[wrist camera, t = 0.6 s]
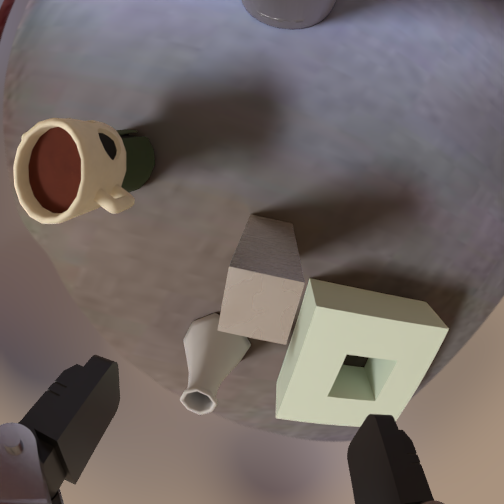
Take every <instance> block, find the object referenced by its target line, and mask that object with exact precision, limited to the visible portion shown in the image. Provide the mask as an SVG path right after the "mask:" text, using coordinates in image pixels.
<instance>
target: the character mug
mask: <svg viewBox="0 0 504 504" xmlns="http://www.w3.org/2000/svg"><path fill="white" fill-rule="evenodd" d="M134 132H138V131H136V130H117V131H116V130H115V129H114V128H113V127H111V126H109V125H107V124H105V123H101V122H98V121H94V120H91V121H82V120H77V119H71V118H66V119H62V118H51V119H47V120H44V121H41V122H38V123H37V124H36V125H35V126H34V127H32V128H31V129H30V130H29V131H28V132H26V133H24V134H23V135H22V141H21V143H20V145H19V146H18V148H17V153H16V157H15V162H14V166H13V167H14V186H15V189H16V192H17V195H18V198H19V201H20V204H21V205H22V206H23V208H24V209H25V211H26V212H27V213H28V215H29V216H30V217H32V218H33V219H35V220H37V221H39V222H40V223H42V224H58V223H62V222H65V221H67V220H69V219H72V218H74V217H77V216H79V215H82V214H85V213H87V212H90V211H92V210H95V209H97V208H99V207H101V206H102V207H103V208H104V209H106V210H107V211H108V212H110V213H112V214H117V213H120V212H122V211H124V210H127V209H129V208H130V207H132V206H133V205H134V202H135V198H134V197H133V196H132V195H131V194H130V193H129V192H131V191H134V190H136V189H139V188H140V187H141V186H142V185H143V184H144V183H145V182H146V181H147V180H148V179H149V177H150V175H151V172H152V170H153V167H154V165H155V160H154V149H153V147H152V145H151V143H150V141H149V139H148V138H147V137H145V136H144V137H136V136H133V135H129V134H127V133H134Z"/></svg>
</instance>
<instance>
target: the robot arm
mask: <svg viewBox="0 0 504 504" xmlns="http://www.w3.org/2000/svg"><path fill="white" fill-rule="evenodd" d="M335 1H336V0H242V3H243V5H244V7H245V8H246V10H247V11H248V12H249V13H250V14H251V15H252V16H253V17H254V18H256V19H257V20H259V21H260V22H263V23H265V24H267V25H269V26H273V27H277V28H284V29H300V28H305V27H309V26H312V25H314V24H316V23H319V22H320V21H321V20H323V19H324V18H326V16H327V15H328V14H329V13H330V12H331V10H332V8H333V6H334V3H335ZM119 401H120V390H119V372H118V364H117V362H114V361H111V360H109V359H106V358H103V357H100V356H97V355H94V356H93V357H91V359H90V360H89V361H88V362H87V363H86V364H85V366H84V367H83V366H80V365H78V364H76V365H74V366H72V367H70V368H69V369H67V370H64V371H63V372H62V373H61V375H60V376H59V377H58V378H57V379H56V380H55V383H53V384H52V385H51V386H50V387H49V388H48V391H46V392H45V393H44V394H43V395H42V396H41V397H40V399H39V400H38V401H37V402H36V403H35V405H34V406H33V407H32V408H31V409H30V410H29V412H28V413H27V414H26V415H25V417H24V418H23V419H22V420H21V421H20V422H19V423H5V424H2V425H0V504H64V503H63V499H62V495H61V492H60V489H59V488H60V486H61V484H62V482H63V481H64V479H65V480H67V481H69V482H71V483H73V484H76V482H77V481H78V479H79V477H80V475H81V473H82V471H83V470H84V468H85V466H86V464H87V463H88V460H89V459H90V457H91V455H92V454H93V452H94V450H95V448H96V446H97V445H98V443H99V441H100V439H101V438H102V436H103V434H104V432H105V431H106V429H107V427H108V425H109V424H110V422H111V420H112V418H113V417H114V415H115V413H116V411H117V409H118V405H119ZM347 459H348V465H349V471H350V476H351V481H352V488H353V493H354V499H355V504H444V503H442V502H439V501H434V499H433V497H432V494H431V491H430V488H429V485H428V482H427V480H426V477H425V474H424V471H423V468H422V466H421V464H420V460H419V458H418V455H416V450H415V447H414V445H413V442H412V440H411V439H410V438H409V437H408V436H407V434H406V433H405V432H404V431H403V430H398V427H397V425H396V422H395V419H394V417H393V416H392V415H382V414H369V415H368V416H367V417H366V419H365V420H364V422H363V424H362V425H361V427H360V428H359V430H358V432H357V433H356V435H355V436H354V438H353V440H352V441H351V443H350V445H349V448H348V453H347Z"/></svg>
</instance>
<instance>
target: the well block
mask: <svg viewBox="0 0 504 504" xmlns="http://www.w3.org/2000/svg"><path fill="white" fill-rule="evenodd" d="M448 330H449V328H448V327H447V326H446V325H445V323H444V322H443V321H442V320H441V319H440V317H439V316H438V315H437V314H436V313H435V312H434V310H433V309H432V308H431V307H430V306H429V305H428V303H427V302H424V301H419V300H414V299H409V298H404V297H399V296H394V295H389V294H384V293H379V292H374V291H369V290H364V289H359V288H354V287H350V286H345V285H340V284H335V283H330V282H326V281H321V280H316V279H311V278H310V279H309V282H308V285H307V289H306V292H305V296H304V299H303V302H302V306H301V309H300V312H299V315H298V319H297V322H296V325H295V328H294V331H293V334H292V338H291V341H290V344H289V347H288V350H287V353H286V356H285V359H284V362H283V365H282V368H281V371H280V374H279V377H278V380H277V385H276V418H279V419H285V420H293V421H301V422H309V423H319V424H329V425H341V426H357V427H361V425H362V424H363V422H364V420H365V419H366V417H367V416H368V415H369V414H382V415H392V416H393V417H394V419H395V422H396V420H397V419H398V417H399V416H400V414H401V413H402V411H403V410H404V408H405V406H406V405H407V403H408V402H409V400H410V399H411V397H412V396H413V394H414V392H415V391H416V389H417V387H418V386H419V384H420V382H421V381H422V379H423V377H424V375H425V374H426V372H427V370H428V368H429V367H430V365H431V363H432V361H433V359H434V357H435V356H436V354H437V352H438V350H439V348H440V346H441V344H442V342H443V340H444V338H445V336H446V334H447V332H448ZM347 354H348V355H355V356H362V357H369V358H368V360H367V362H366V364H365V366H364V367H356V366H349V365H342V364H343V362H344V359H345V357H346V355H347Z"/></svg>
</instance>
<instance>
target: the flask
mask: <svg viewBox="0 0 504 504" xmlns="http://www.w3.org/2000/svg"><path fill="white" fill-rule="evenodd" d="M219 319H220V315H218V314H216V313H213V314H211V315H208V316H206V317H203V318H200V319H198V320H195V321H192V323H191V325H190V328H189V330H188V332H187V334H186V336H185V338H184V340H183V341H184V347H185V352H186V357H187V363H188V370H189V381H188V388H187V389H185V391H184V393H183V394H182V396H181V398H180V401H181V402H182V404H183V405H184V406H185V407H186V408H187V409H188V410H190V411H192V412H194V413H197V414H199V415H202V414H206V413H211V412H213V410H214V409H215V407H216V406H217V405H218V400H217V399H216V394H217V391H218V388H219V386H220V384H221V382H222V381H223V380H224V379H225V378H226V377H227V375H228V374H229V373H230V372H231V371H232V370H233V369H234V368H235V367H236V366H237V365H238V364H239V362H240V361H241V359H242V358H243V356H244V355H245V353H246V352H247V350H248V349H249V347H250V346H251V344H250V342H249V340H248V339H247V337H245V336H240V335H235V334H231V333H226V332H222V331H218V324H219Z"/></svg>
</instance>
